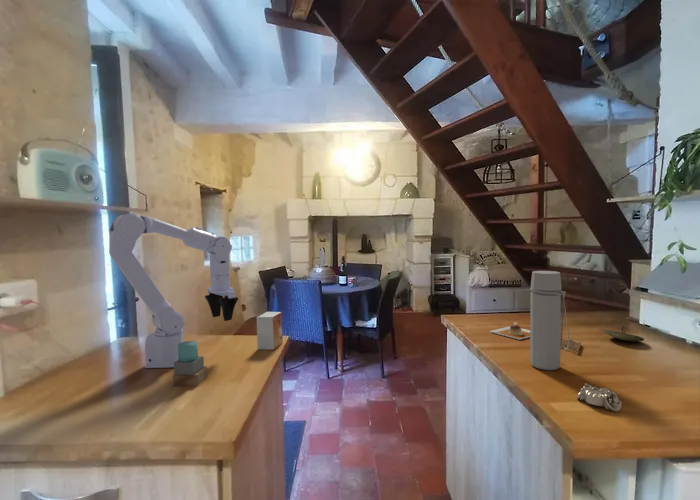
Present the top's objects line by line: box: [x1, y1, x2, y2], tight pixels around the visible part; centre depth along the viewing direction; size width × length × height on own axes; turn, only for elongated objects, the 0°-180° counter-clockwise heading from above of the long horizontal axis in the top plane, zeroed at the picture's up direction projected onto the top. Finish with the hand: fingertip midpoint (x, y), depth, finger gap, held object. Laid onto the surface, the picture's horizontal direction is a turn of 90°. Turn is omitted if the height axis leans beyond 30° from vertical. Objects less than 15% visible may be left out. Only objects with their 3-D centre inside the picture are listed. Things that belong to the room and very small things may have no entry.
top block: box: [173, 355, 205, 375], centre depth 96 cm, size 5×5×3 cm
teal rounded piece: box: [178, 340, 199, 363], centre depth 96 cm, size 5×5×4 cm
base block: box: [172, 365, 208, 387], centre depth 96 cm, size 6×6×3 cm
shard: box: [560, 338, 582, 355], centre depth 115 cm, size 11×8×2 cm
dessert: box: [489, 321, 530, 341], centre depth 131 cm, size 12×12×5 cm
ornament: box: [576, 383, 622, 413], centre depth 79 cm, size 8×7×4 cm
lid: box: [602, 325, 645, 342], centre depth 120 cm, size 11×10×5 cm
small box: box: [256, 311, 284, 351], centre depth 124 cm, size 8×6×10 cm
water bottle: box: [529, 270, 570, 371], centre depth 100 cm, size 9×8×25 cm
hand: (222, 318), depth 119 cm, fingers open, 7 cm apart
